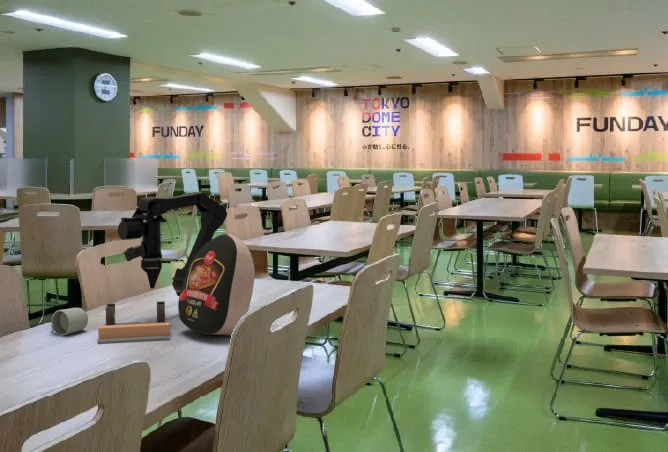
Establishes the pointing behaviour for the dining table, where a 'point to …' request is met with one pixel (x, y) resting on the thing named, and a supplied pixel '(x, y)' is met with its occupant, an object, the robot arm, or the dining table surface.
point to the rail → (133, 330)
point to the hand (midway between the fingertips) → (152, 285)
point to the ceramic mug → (69, 321)
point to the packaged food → (217, 286)
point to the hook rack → (112, 321)
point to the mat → (133, 339)
